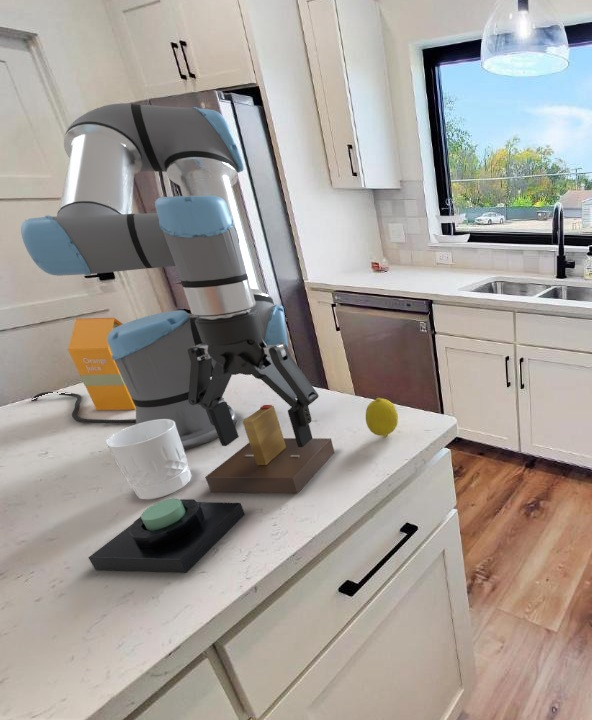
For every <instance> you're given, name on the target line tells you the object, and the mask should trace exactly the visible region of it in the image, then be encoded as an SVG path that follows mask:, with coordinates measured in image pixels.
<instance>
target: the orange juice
mask: <svg viewBox="0 0 592 720" xmlns="http://www.w3.org/2000/svg"><path fill="white" fill-rule="evenodd" d="M122 324H123V323H122V322H121V321H119V320H118V319H117V318H115V317H93V318H90V317H89V318H88V317H87V318H75V320H74V324H73V328H72V333H71V337H70V341H69V345H68V348H67V351H68V353H69V355H70V357H71V359H72V362H73V363H74V366H75V368H76V370H77V372H78V374H79V377H80V379H81V381H82V383H83V385H84V387H85V388H86V391H87V393H88V395H89V397H90V399H91V401H92V403H93V405H94V407H95V409H96V411H128V410H130V411H131V410H136V408H135V405H134V403H133V401H132V398H131V396H130V394H129V392H128V389H127V387H126V385H125V383H124V380H123V378H122V376H121V374H120V372H119V369H118V367H117V365H116V363H115V360H113V359H112V353H111V350H110V347H109V344H108V341H107V337H108V334H109V333H110V332H111V331H112V330H113V329H114V328H116V327H118V326H120V325H122Z"/></svg>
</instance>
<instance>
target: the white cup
mask: <svg viewBox="0 0 592 720" xmlns="http://www.w3.org/2000/svg"><path fill="white" fill-rule="evenodd" d="M105 445H106V447H107V448H108V450H109V452H110V454H111V455H112V458H113V459H114V461H115V463H116V464H117V466H118V468H119V470H120V471H121V473H122V475H123V476H124V477H125V479H126V480H127V483H128V484H129V485H130V486H131V487H132V489H133V491H134V493H135V495H136V496H137V497H138V498H139V499H140V500H147V501H148V500H154V499H160V498H162V497H166V496H168V495H170V494H171V495H172V494H173V493H175V492H177V491H179V490H180V489H182V488H184V487H185V486H186V485H187V484H188V483H190V482H191V479H192V472H191V469H190V467H189V463H188V458H187V454H186V452H185V450H184V448H183V445H182V442H181V439H180V436H179V433H178V430H177V427H176V424H175V422H174V421H173V420H170V419H158V420H151V421H147V422H142V423H139V424H136V423H135V424H133V425H130V426H127V427H125V428H123V429H120V430H119V431H117V432H114V433H113V434H112V435H110V436H109V437H108V438H107V439H106V440H105Z"/></svg>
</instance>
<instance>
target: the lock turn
mask: <svg viewBox="0 0 592 720" xmlns="http://www.w3.org/2000/svg"><path fill="white" fill-rule="evenodd" d="M241 422H242V424H243V427H244V430H245V433H246V437H247V440H248V443H250V446H251V448H252V451H253V454H254V457H255V460H256V463H257V465H267V464H268V463H269V462H271V461H272V460H273V459H274V458H275V457H276V456H277V455H278V454H280V453H281V452H282V451H283V450H284V449H285V448H286V445H285V442H284V438H285V437H284V435H283V432H282V428H281V426H280V422H279V418H278V415H277V412H276V409H275V406H274V405H272V404H263V405H262V406H260V407H259V409H258V410H256V411H254V412H253V413H252V414H250V415H249V416H248V417H246V418H245V419H243V420H242V421H241Z"/></svg>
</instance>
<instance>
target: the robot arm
mask: <svg viewBox="0 0 592 720" xmlns="http://www.w3.org/2000/svg"><path fill="white" fill-rule="evenodd" d="M63 148H64V151H65V153H66V155H67V157H68V158H69V160H68V164H67V169H66V174H65V179H64V184H63V187H62V191H61V197H60V201H59V206H58V210H57V214H56V216H52V215H45V216H41V217H30V218H28V219H25V220H24V221H22V223H21V227H20V234H21V239H22V241H23V245H24V247H25V249H26V251H27V254H29V256H30V258H31V259H32V261H33V262H34V264H35V265H36V266H37V267H38V268H39V269H40V270H41V271H43V272H44V273H46V274H48V275H51V276H57V277H58V276H59V277H60V276H62V277H63V276H79V275H81V276H82V275H84V276H91V275H95V274H105V273H116V272H125V271H136V270H147V269H159V268H170V267H171V268H172V267H176V271H177V273H178V276H179V278H180V283H181V286H182V289H183V291H184V292H183V293H184V295H185V298H186V301H187V304H188V307H189V310H190V313H191V315H193V316H195V317H191V316H190V314H189V313H188V312H187V311H185V310H184V309H183V310H182V309H178V310H169V311H164V312H159V313H154V314H150V315H147V316H144V317H139V318H136V319H134V320H130V321H128V322H125V323H122V325H120V326H118V327H116V328H114V329H113V330H112V331H111V332H110V333H109V334H108V337H107V341H108V344H109V347H110V350H111V353H112V359H113V360H115V363H116V365H117V367H118V369H119V372H120V374H121V376H122V378H123V380H124V383H125V385H126V387H127V389H128V392H129V394H130V396H131V398H132V401H133V403H134V405H135V408H136V409H135V418H132V419H129V418H128V419H101V418H100V419H99V418H84V417H79V415H78V413H79V410H80V409H81V402H82V399H83V397H82V395H81V394H78V393H73V392H70V393H71V394H65V393H68V392H66V391H64V392H65V393H61V394H59V395H58V396H67V397H73V398H76V400H75V402H74V408H73V410H72V412H71V418H72V419H73V420H75V421H77V422H81V423H86V424H87V423H88V424H135V425H136V424H139V423H142V422H147V421H151V420H158V419H170V420H173V421H174V422H175V424H176V427H177V430H178V433H179V436H180V439H181V442H182V445H183V448H184V451H185V450H188V449H191V448H195V447H198V446H202V445H203V444H205V443H208V442H211V441H213V440H215V439H217V438H218V440H219V441H220V445H221V447H227V446H229V445H230V444H231V443H233V442H234V441H235V440H237V439H238V438H239V433H238V430H237V428H236V423H237V416H236V413H235V411H234V409H233V408H232V407H231V406H230V405H229V404H228V402H227V401H226V400H225V398H223V396H224V394H225V391H226V389H227V387H228V384H229V382H230V380H231V378H232V376H237V375H239V374H240V375H245V376H251V375H252V377H254V378H255V379H258V380H261V381H262V382H263V383H264V384H265V385H267V386H268V387H269V388H270V389H271V390H272V391H273V392H274V393H275V394H276V395H277V396H279V397H280V398H281V399H282V400H283V401H284V402H285V403H286V404H288V406H289V407H290V408H288V410H287V414H288V417H289V421H290V424H291V428H292V430H293V434H294V438H296V442H297V445H298V447H303V446H305V445H306V444H307V443H308V442H309V441H310V440H311V439H312V438H313V434H312V431H311V427H310V423H312V415H311V411H310V408H309V406H310V405H311V404H313V402H315V401H316V400H317V399H318V398H319V393H318V392H317V390H316V389H315V388H314V387H313V385H312V383H311V382H310V381H309V379H308V378H307V377H306V375H305V374H304V373H303V371H302V369H301V368H300V367H299V365H298V364H297V363H296V361H295V360H294V359H293V357H292V355H291V353H290V350H289V340H288V333H287V326H286V316H285V309H284V306H283V305H279V304H275V303H274V299H273V297H272V296H271V295H269V294H267V293H266V292H264V291H262V288H261V284H260V280H259V276H258V273H257V270H256V266H255V263H254V259H253V255H252V252H251V248H250V245H249V241H248V238H247V233H246V230H245V227H244V223H243V219H242V216H241V212H240V208H239V206H238V201H237V198H236V194H235V191H234V185H236V183H237V182H238V181H239V173H240V172H244V169H245V166H244V163H243V159H242V156H241V154H240V151H239V148H238V146H237V143H236V140H235V138H234V135H233V132H232V130H231V128H230V126H229V124H228V122H227V120H226V119H225V117H224V116H223V115H222V114H221V113H220V112H218V110H215V109H208V108H199V107H197V106H191V107H179V106H166V105H150V104H135V103H125V102H123V103H122V102H121V103H111V104H106V105H102V106H100V107H96V108H94V109H92V110H89V111H87V112H86V113H84V114H83V115H81V116H79V117H77V118H76V119H75V120H73V121H72V123H71V124H70V125H69V126H68V127H67V129H66V132H65V134H64V137H63ZM141 172H143V173H144V172H145V173H146V172H155V173H157V172H158V173H159V172H161V173H163V172H165V174H166V176H167V178H168V179H169V180H170V181H171V182H173V183H174V184H176V185H178V186H179V189H180V192H181V195H178V196H177V195H176V196H175V195H174V196H161V197H158V198H157V199H156V200H155V202H154V207H155V211H156V212H150V213H149V212H148V213H133V212H134V210H133V209H134V208H133V207H134V184H135V183H134V182H135V181H134V180H135V177H136V176H137V175H138V174H139V173H141ZM53 392H54V391H44V392H40V393H37V394H35V395H34V396H33V397H32V398H31V400H30V402H36V401H38V399H39V398H40V397H39V396H41V397H43V396H42V395H45V394H48V393H53ZM56 392H57V393H58V392H59V391H56ZM36 397H39V398H36ZM33 398H36V399H34V400H32V399H33Z"/></svg>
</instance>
